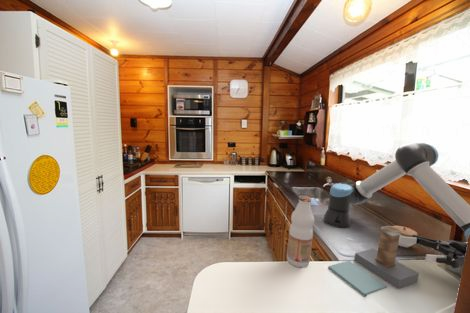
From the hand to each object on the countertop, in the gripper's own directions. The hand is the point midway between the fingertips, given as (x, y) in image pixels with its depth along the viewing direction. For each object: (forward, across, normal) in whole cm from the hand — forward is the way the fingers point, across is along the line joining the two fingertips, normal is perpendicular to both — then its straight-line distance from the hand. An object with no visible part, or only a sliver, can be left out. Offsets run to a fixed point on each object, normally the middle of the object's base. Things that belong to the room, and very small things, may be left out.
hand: (412, 248), depth 91 cm
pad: (+24, -5, -11) cm, 27 cm away
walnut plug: (+10, 0, -10) cm, 14 cm away
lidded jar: (-15, +25, -11) cm, 31 cm away
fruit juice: (+44, +3, -11) cm, 46 cm away
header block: (+10, 0, -11) cm, 15 cm away
